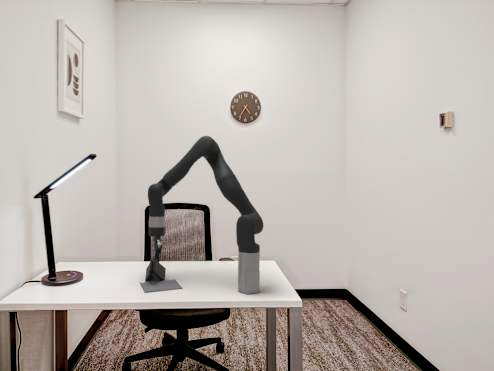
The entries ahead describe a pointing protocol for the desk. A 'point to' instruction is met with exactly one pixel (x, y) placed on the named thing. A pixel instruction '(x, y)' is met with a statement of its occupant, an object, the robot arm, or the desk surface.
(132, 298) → the desk surface
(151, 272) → the phone stand
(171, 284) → the mat
